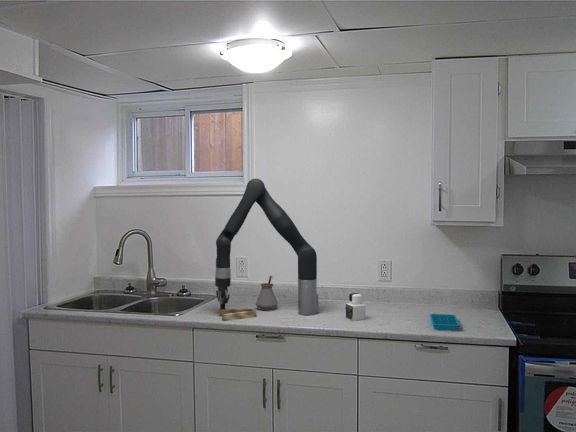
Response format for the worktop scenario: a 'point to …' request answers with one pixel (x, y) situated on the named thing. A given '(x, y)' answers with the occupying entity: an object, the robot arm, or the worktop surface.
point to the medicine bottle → (355, 307)
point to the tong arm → (231, 311)
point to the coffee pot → (267, 297)
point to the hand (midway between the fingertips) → (222, 311)
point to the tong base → (239, 315)
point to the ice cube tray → (444, 322)
